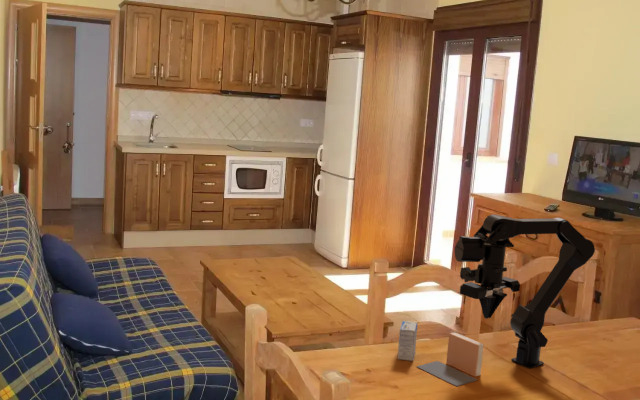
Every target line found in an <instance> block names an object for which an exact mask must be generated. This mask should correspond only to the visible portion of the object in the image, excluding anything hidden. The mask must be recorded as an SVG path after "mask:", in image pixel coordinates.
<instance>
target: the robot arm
mask: <svg viewBox="0 0 640 400" xmlns="http://www.w3.org/2000/svg"><path fill="white" fill-rule="evenodd" d="M548 234H549V235H556V238H557V239H558V240H559V241H560V242H561V244H562V245H561V247H560V249H559V254H558V261H557V262H556V264H554V267H553V268H552V269H551V271H550V273H549V274H548V275H547V277H546V279H545V280H544V281H543V283H542V284H541V286H540V287H539V289H538V290H537V292H536V293H535V295H534V297H533V298H532V299H531V301H529V303H528V304H526V305H524V306H523V305H522V304H518V305H517V307H516V309H515V311H514V312H513V313H512V314H511V319H510V321H509V323H510V328H511V330H512V331H513V332H514V335H515V337H517V338H518V339H519V340H518V341H517V347H516V356H515V357H513V358H511V361H512V362H514V363H516V364H519V365H521V366H523V367H526V368H528V369H533V368H536V367H538V366H541V365H544V364H545V362H544V361H542V360H540V357H541V351H542V350H541V348H545V347H547V343H548V338H547V337H546V336H545V335H544V333H542V329H543V327H544V325H545V319H546V318H545V317H546V313H547V311H548V310H549V309H550V307H551V306H552V304H553V302H554V301H555V300H556V299H557V297H558V296H559V294H560V292H561V291H562V289H564V287H565V285H566V283H567V282H568V281H569V279H570V277H571V276H572V275H573V274H574V272H575V271H576V270H577V269H579V268H581V267H582V266H584V265H585V264H587V263H588V262H589V261H590V259H591V258H592V257H593V255H594V254H595V252H596V249H595V243H593V241H592V240H590V239H588V238H586V237H585V236H584V235H583V234H582V233H581V232H580V231H578V230H577V229H576V228H575V227H574V226H573V225H572V223H570V221H569V220H567V219H564V218H561V217H555V218H513V217H509V216H504V215H499V214H489V215H487V217H486V218H485V219H484V221H483V224H482V225H480V227H479V228H478V230H477V231H476V232H475V233H474V235H473V236H467V235H466V236H465V235H459V239H458V240H457V241H456V244H455V246H454V258H455V260H456V261H457V262H458V263H459V262H463V263H465V262H466V263H479V262H481V263H479V264H478V265H477V268H476V269H471V267H470V266H466V267H461V268H460V272H459V277H460V279H461V280H463V281H464V283H462V284H461V285H460V287H459V294H460V295H463V296H464V297H465V296H466V297H468V298H472V299H474V300H479V304H480V307H481V311H482V315H483V318H484V319H485V320H486V319H491V317H492V316H493V315H494V313H495V312H496V310H497V309H498V307H499V306H500V304H501V303H502V302H503V300H504V299H505V298H506V297H507V296H508V294H507V293H506V292H504V289H510V290H511V292H513V293H516V292H520V289H521V283H520V281H519V280H518V279H515V278H511V277H507V276H504V272H507V271H508V267H506V266H505V258H506V252H507V251H506V250H507V249H506V248H514V247H515V245H514V244H513V243H512V241H511V240H510V239H513V238H515V237H517V236H521V235H548Z"/></svg>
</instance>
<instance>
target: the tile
mask: <svg viewBox="0 0 640 400" xmlns="http://www.w3.org/2000/svg"><path fill="white" fill-rule="evenodd" d="M447 345H448V346H447V353H446V365H448V366H450V367H451V366H452V368H454V369H457V370H459V371H461V372H462V371H463V373H465V374H467V375H470V376H472V377H478V376H481V373H482V363H483V355H484V345H485V344H484V343H482V342H479V341H477V340H474V339H472V338H470V337H467V336H465V335H463V334H460V333H458V332H450V333H449V334H448V343H447Z"/></svg>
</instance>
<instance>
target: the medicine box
mask: <svg viewBox="0 0 640 400" xmlns="http://www.w3.org/2000/svg"><path fill="white" fill-rule="evenodd" d="M417 333H418V322H417V321H416V322H414V321H408V320H404V321H403V320H402V322H401V325H400V329H399V333H398V334H399V336H398V345H397V346H398V347H397V360H404V361H411V362H413V361H414V359H415V355H416V348H417V346H416V345H417V336H418V335H417Z"/></svg>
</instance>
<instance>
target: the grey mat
mask: <svg viewBox="0 0 640 400" xmlns="http://www.w3.org/2000/svg"><path fill="white" fill-rule="evenodd" d="M416 368H417V369H420V370H422V371H424V372H426V373H428V374H430V375H432V376H433V377H436V378H438V379H440V380H443V381H444V382H447V383H448V384H450V385H452V386H455V387H460V386H463V385H466V384H469V383H470V384H471V383H473V382H476V381H478V378H475V377H474V376H472V375H470V374H468V373H466V372H464V371H463V372H462V371H461V370H459V369H457V368H455V367H453V366H452V367H451V365H448V364H445V363H443V362H441V361H439V360H436V361H432V362H428V363H423V364H420V365H417V366H416Z"/></svg>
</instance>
